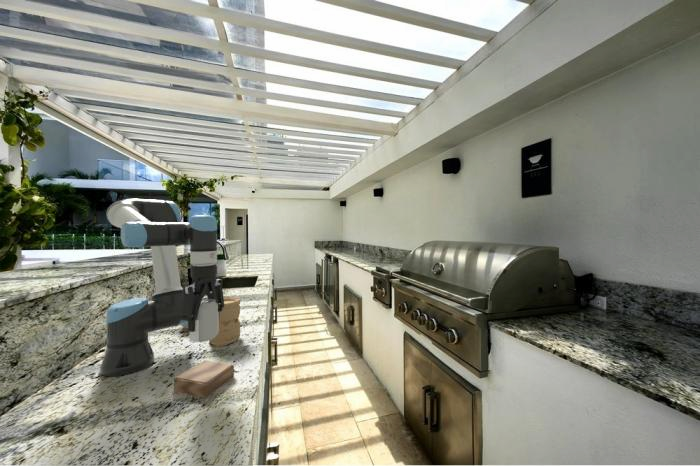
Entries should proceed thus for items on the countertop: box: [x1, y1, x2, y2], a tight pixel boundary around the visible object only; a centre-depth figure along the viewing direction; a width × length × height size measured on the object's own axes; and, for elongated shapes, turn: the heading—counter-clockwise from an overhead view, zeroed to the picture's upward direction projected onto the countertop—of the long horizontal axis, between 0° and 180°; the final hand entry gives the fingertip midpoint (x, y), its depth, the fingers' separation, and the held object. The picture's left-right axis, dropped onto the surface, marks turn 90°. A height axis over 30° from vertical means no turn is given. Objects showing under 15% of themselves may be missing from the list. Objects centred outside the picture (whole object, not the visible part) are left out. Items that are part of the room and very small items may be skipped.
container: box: [208, 296, 241, 348], centre depth 121 cm, size 13×13×18 cm
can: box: [192, 298, 218, 343], centre depth 87 cm, size 8×8×12 cm
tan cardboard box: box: [173, 359, 235, 399], centre depth 87 cm, size 12×12×4 cm
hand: (204, 335), depth 87 cm, fingers closed on can, 7 cm apart
